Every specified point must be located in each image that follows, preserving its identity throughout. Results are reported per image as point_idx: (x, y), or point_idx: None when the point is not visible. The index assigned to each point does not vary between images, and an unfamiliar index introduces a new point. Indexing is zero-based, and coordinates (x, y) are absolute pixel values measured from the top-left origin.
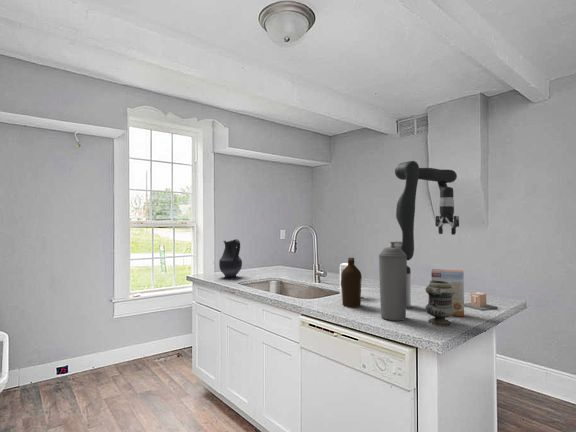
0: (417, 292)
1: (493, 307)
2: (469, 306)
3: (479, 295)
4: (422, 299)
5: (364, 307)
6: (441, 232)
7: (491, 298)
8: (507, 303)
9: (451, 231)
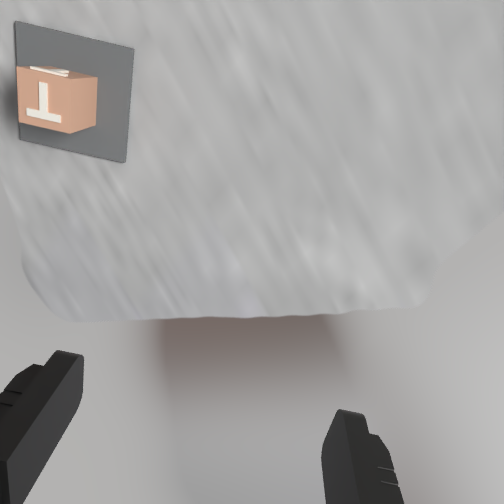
0: (429, 160)
1: None
2: (81, 36)
3: (19, 67)
4: (330, 12)
5: None
6: (332, 454)
7: (137, 285)
8: (54, 245)
9: (51, 392)
